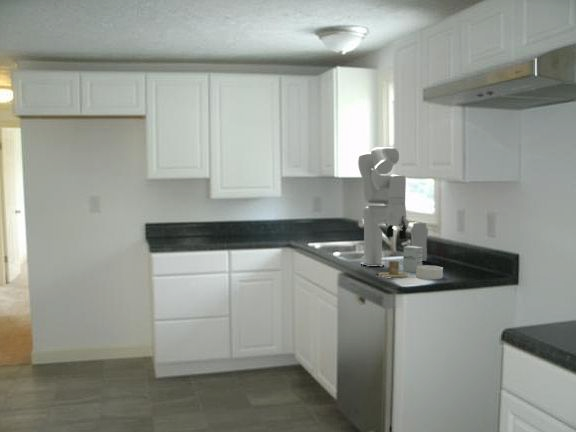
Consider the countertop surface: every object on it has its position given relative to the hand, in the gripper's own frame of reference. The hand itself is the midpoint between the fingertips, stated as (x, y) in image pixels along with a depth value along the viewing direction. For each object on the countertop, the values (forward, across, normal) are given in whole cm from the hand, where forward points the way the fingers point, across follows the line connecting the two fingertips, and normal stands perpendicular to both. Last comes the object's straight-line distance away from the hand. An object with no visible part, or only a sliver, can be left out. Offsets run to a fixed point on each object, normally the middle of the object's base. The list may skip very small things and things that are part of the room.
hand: (396, 237), depth 283 cm
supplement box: (+19, -10, +18) cm, 27 cm away
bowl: (+19, +8, +14) cm, 24 cm away
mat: (+19, -1, 0) cm, 19 cm away
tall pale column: (+19, -36, +43) cm, 59 cm away
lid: (+18, -1, 0) cm, 18 cm away
